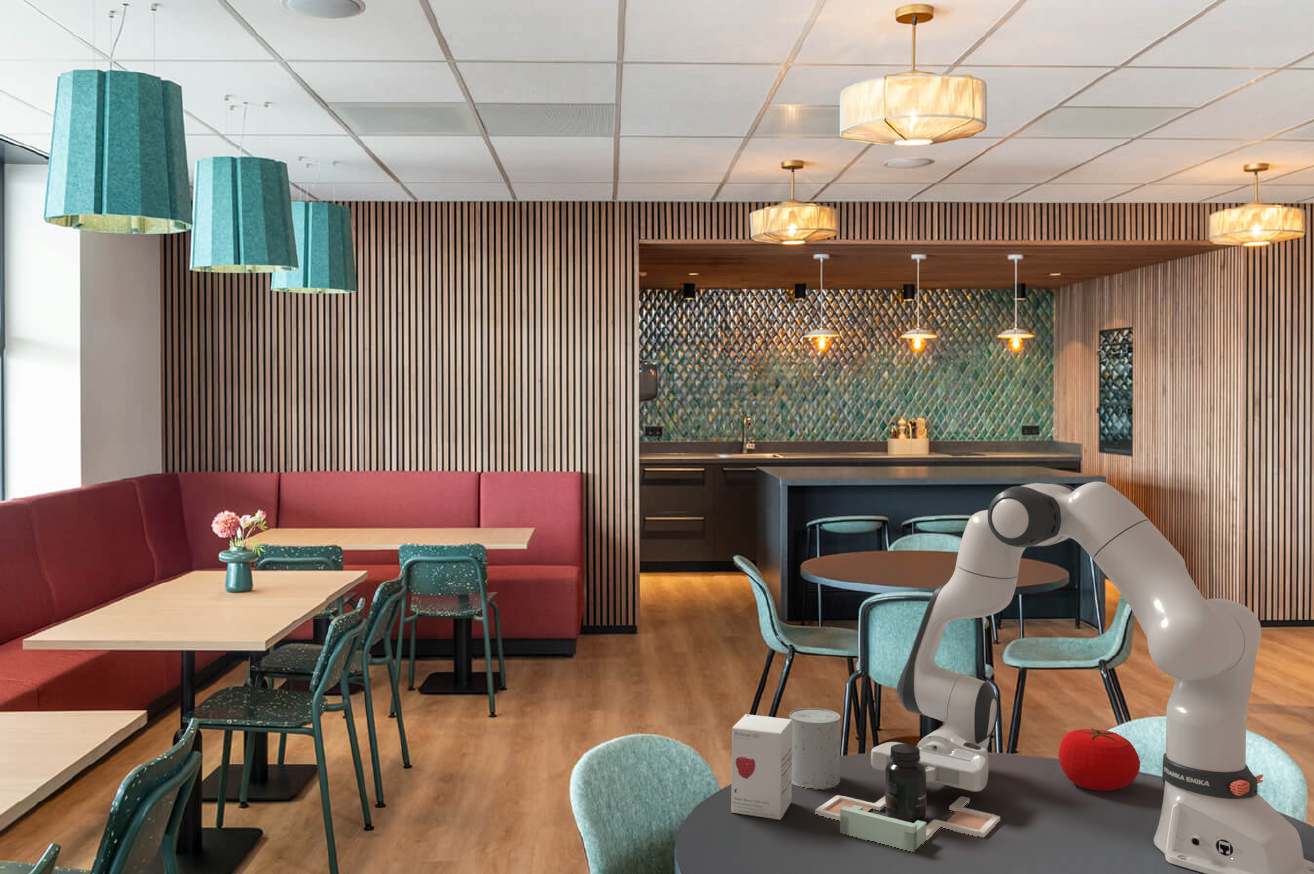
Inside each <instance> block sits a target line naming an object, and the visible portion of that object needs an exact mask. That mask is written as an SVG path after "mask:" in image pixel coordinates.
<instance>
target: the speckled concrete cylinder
mask: <svg viewBox="0 0 1314 874" xmlns="http://www.w3.org/2000/svg"><path fill="white" fill-rule="evenodd" d="M788 716H789V719H792V720H793V728H792V785H794V786H796V785H797V786H796V787H798V786H801V787H800V788H802V787H805V788H804V789H807V788H814V789H813V790H818V789H821V790H825V789H824V788H830V787H834V786H836V785H838V784H839V783H841V718H842V717H841V715H840V714H839V712H836V711H833V710H830V709H827V708H826V709H825V708H816V707H814V708H813V707H808V708H798V709H794V710H792V711H791V712H789V715H788ZM839 785H840V784H839ZM839 785H838V786H839ZM836 787H837V786H836ZM834 788H835V787H834ZM830 789H831V788H830Z"/></svg>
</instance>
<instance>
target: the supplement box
mask: <svg viewBox="0 0 1314 874" xmlns="http://www.w3.org/2000/svg"><path fill="white" fill-rule="evenodd" d="M792 728H793V720H792V719H790V718H782V717H781V718H780V717H773V716H766V715H757V714H755V715H754V714H747V713H745V714H744V715H743V716H742V717H741V718H740V719H739V720H738V721H737V722H736V723H735V724H734V725H733V726H732V728H731V787H730V788H731V789H730V791H731V794H730V796H731V799H730V800H731V801H730V804H731V806H730V808H731V810H730V811H731V814H732V813H733V814H741V815H747V816H752V817H758V818H759V817H760V818H766V819H773V820H779V821H780V820H781V819H782V818H783V817H784V815H785V813H786V811H787V810H788V808H789V806H790V804H791V803H792V792H793V790H792V786H793V784H792Z"/></svg>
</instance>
